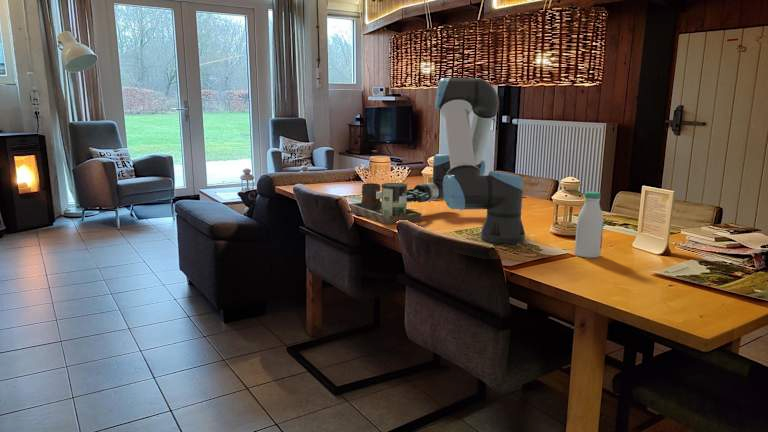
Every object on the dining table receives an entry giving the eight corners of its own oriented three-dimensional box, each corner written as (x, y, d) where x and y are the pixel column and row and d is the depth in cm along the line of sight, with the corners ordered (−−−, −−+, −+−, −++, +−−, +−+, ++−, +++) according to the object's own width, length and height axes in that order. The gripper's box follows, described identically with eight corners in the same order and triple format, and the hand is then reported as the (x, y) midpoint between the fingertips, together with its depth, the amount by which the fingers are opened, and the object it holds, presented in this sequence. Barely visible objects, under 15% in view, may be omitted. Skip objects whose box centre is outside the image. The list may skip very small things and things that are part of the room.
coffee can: (408, 217, 229) (409, 183, 226) (404, 222, 219) (404, 186, 216) (383, 215, 231) (384, 182, 228) (378, 220, 221) (379, 185, 218)
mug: (369, 215, 231) (369, 187, 229) (357, 210, 242) (358, 183, 240) (387, 213, 235) (388, 186, 233) (375, 208, 246) (376, 182, 243)
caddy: (421, 220, 222) (421, 213, 222) (387, 224, 214) (387, 217, 213) (379, 207, 249) (379, 200, 248) (348, 210, 241) (348, 203, 240)
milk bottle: (597, 259, 169) (603, 195, 165) (571, 256, 173) (576, 192, 169) (602, 254, 176) (608, 191, 172) (577, 250, 180) (582, 189, 176)
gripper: (447, 205, 226) (409, 211, 212) (404, 197, 245) (367, 202, 231) (447, 187, 225) (410, 192, 211) (405, 180, 243) (367, 184, 229)
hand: (387, 197), depth 221 cm, fingers open, 13 cm apart
